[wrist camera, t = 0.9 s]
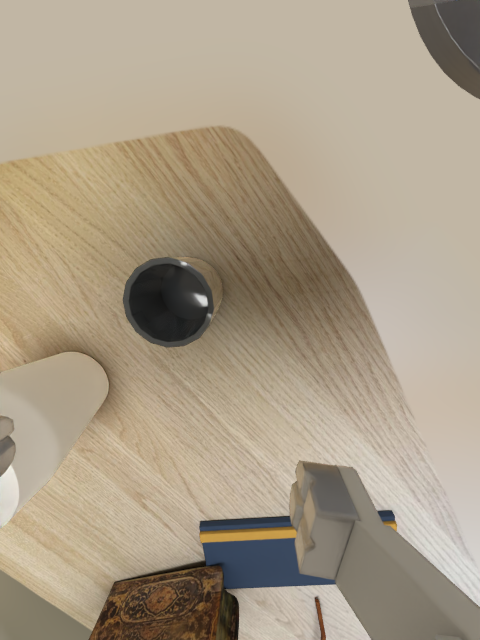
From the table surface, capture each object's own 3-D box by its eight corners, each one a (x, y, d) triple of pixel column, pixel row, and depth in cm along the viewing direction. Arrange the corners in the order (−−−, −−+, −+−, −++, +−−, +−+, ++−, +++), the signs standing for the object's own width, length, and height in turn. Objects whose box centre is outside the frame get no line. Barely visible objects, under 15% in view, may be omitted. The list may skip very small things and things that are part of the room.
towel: (391, 510, 29) (397, 519, 28) (389, 575, 32) (394, 586, 30) (200, 521, 30) (198, 530, 29) (211, 583, 33) (210, 594, 32)
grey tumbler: (218, 254, 23) (206, 252, 16) (226, 319, 24) (218, 342, 18) (153, 261, 23) (114, 263, 17) (164, 325, 25) (133, 350, 18)
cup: (82, 322, 25) (-63, 380, 13) (139, 394, 27) (54, 502, 15) (15, 367, 26) (-170, 456, 15) (73, 433, 28) (-52, 560, 16)
